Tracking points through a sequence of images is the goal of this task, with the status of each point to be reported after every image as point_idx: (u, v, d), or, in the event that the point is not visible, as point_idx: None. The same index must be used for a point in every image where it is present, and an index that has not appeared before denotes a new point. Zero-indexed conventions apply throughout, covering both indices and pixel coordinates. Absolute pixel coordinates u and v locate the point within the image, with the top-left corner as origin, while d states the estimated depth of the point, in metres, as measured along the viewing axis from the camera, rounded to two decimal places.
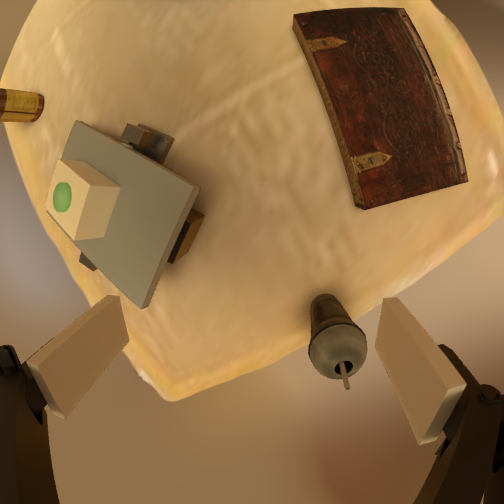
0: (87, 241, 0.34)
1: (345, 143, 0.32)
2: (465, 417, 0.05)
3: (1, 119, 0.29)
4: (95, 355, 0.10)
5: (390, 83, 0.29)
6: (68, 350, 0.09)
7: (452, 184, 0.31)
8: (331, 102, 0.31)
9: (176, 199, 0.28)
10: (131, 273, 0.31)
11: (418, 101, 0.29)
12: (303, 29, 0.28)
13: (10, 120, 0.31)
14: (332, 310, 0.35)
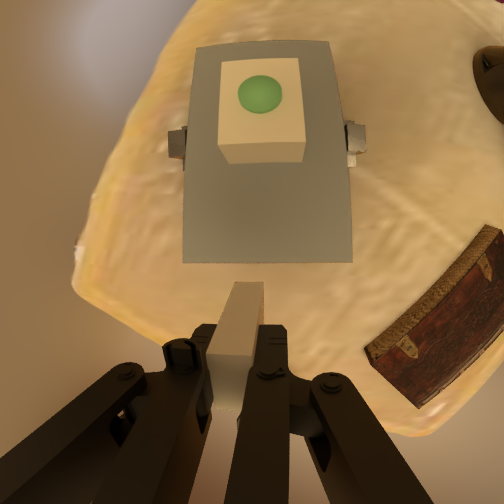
0: (206, 138, 0.27)
1: (415, 324, 0.34)
2: (244, 397, 0.07)
3: None
4: None
5: (469, 327, 0.33)
6: None
7: (412, 402, 0.38)
8: (442, 297, 0.33)
9: (330, 249, 0.25)
10: (215, 229, 0.26)
11: (462, 350, 0.35)
12: (492, 244, 0.30)
13: None
14: None
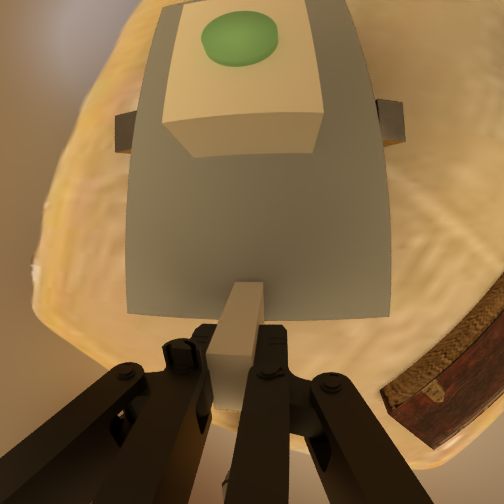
0: (162, 120, 0.16)
1: (446, 366, 0.24)
2: (244, 397, 0.07)
3: None
4: None
5: (502, 362, 0.23)
6: None
7: (428, 444, 0.28)
8: (480, 332, 0.23)
9: (357, 298, 0.15)
10: (171, 263, 0.16)
11: (490, 388, 0.24)
12: None
13: None
14: None
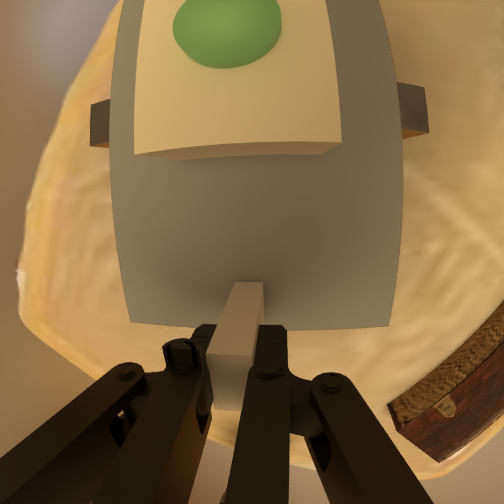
0: None
1: (460, 380, 0.21)
2: (244, 397, 0.07)
3: None
4: None
5: None
6: None
7: (434, 458, 0.25)
8: (497, 344, 0.19)
9: (359, 310, 0.15)
10: (168, 277, 0.15)
11: (501, 400, 0.21)
12: None
13: None
14: None
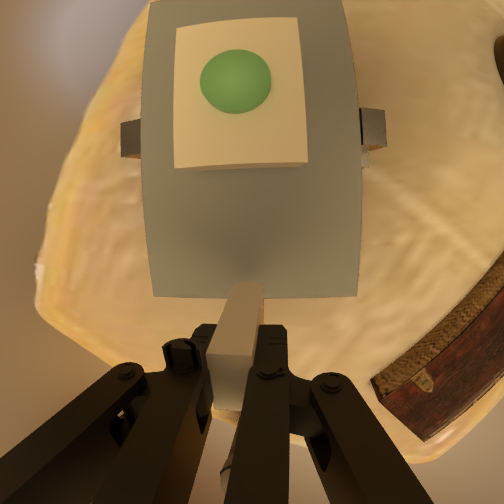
0: (165, 134, 0.18)
1: (434, 355, 0.26)
2: (244, 397, 0.07)
3: None
4: None
5: (490, 355, 0.26)
6: None
7: (418, 436, 0.30)
8: (467, 324, 0.25)
9: (332, 282, 0.20)
10: (187, 258, 0.21)
11: (479, 380, 0.27)
12: None
13: None
14: None
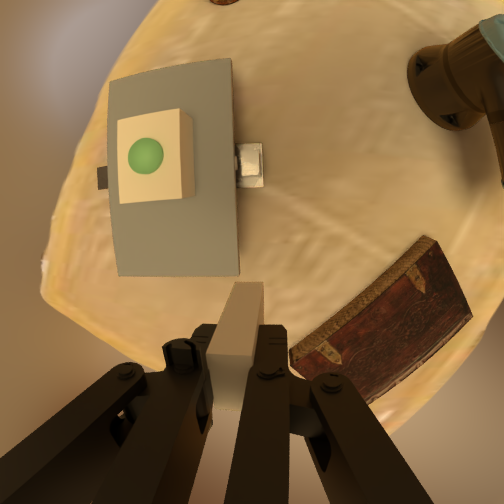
0: None
1: (335, 330, 0.39)
2: (244, 397, 0.07)
3: None
4: None
5: (400, 338, 0.39)
6: None
7: None
8: (365, 306, 0.38)
9: (220, 266, 0.33)
10: (136, 252, 0.33)
11: (394, 361, 0.40)
12: (424, 256, 0.35)
13: None
14: None
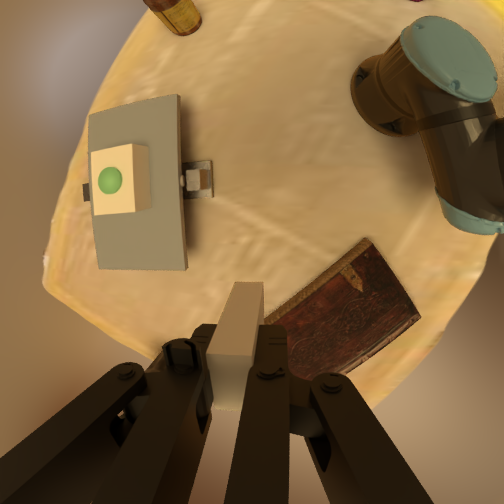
0: None
1: (276, 320, 0.46)
2: (244, 397, 0.07)
3: (152, 11, 0.29)
4: None
5: (340, 331, 0.46)
6: None
7: None
8: (302, 300, 0.45)
9: (171, 262, 0.41)
10: (111, 250, 0.41)
11: (337, 353, 0.47)
12: (359, 257, 0.42)
13: (158, 17, 0.32)
14: None
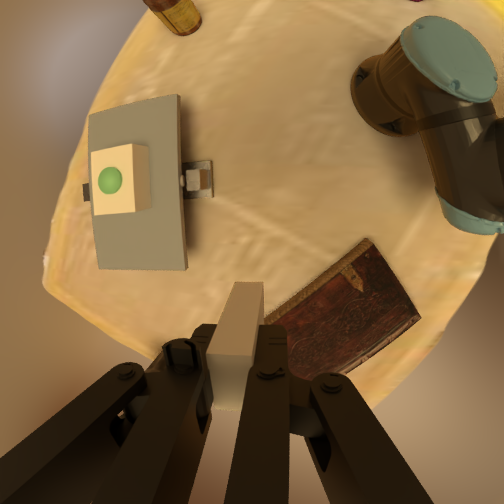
0: None
1: (276, 319, 0.46)
2: (244, 397, 0.07)
3: (152, 11, 0.29)
4: None
5: (340, 331, 0.46)
6: None
7: None
8: (303, 299, 0.45)
9: (171, 262, 0.41)
10: (111, 250, 0.41)
11: (337, 353, 0.47)
12: (360, 257, 0.42)
13: (158, 17, 0.32)
14: None
